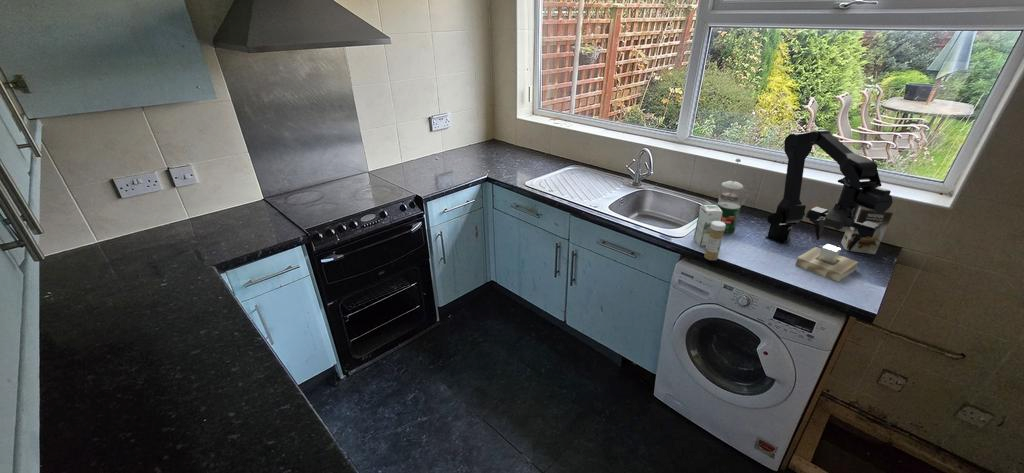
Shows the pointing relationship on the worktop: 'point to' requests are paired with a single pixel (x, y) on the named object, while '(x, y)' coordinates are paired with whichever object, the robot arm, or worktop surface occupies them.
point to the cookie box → (867, 243)
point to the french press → (731, 185)
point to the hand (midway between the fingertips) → (833, 244)
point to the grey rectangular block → (829, 254)
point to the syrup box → (706, 222)
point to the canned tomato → (729, 215)
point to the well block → (826, 265)
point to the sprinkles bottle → (714, 240)
